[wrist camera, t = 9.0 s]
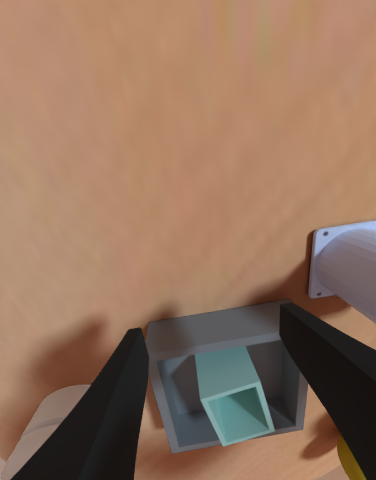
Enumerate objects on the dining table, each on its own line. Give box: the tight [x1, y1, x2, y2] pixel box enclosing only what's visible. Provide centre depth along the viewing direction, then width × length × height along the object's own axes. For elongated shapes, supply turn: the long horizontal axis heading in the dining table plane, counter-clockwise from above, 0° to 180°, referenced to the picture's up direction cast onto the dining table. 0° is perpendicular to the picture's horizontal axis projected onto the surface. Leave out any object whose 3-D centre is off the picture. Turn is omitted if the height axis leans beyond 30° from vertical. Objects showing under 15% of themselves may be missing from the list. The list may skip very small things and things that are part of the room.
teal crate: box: [195, 346, 275, 447], centre depth 20 cm, size 6×8×5 cm
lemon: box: [337, 433, 366, 480], centre depth 27 cm, size 6×6×8 cm
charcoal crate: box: [145, 299, 308, 454], centre depth 21 cm, size 16×16×4 cm
